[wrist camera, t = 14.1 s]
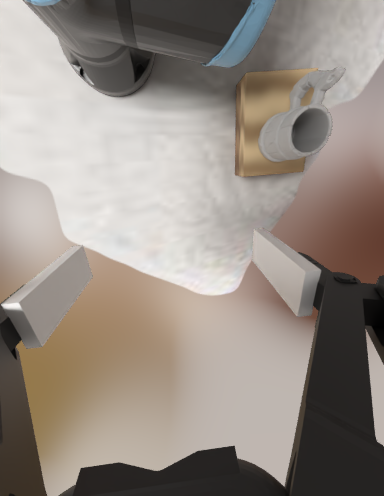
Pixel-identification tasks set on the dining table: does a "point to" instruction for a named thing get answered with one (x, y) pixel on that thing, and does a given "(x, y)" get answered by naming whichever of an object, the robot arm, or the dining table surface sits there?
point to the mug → (300, 120)
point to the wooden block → (264, 118)
